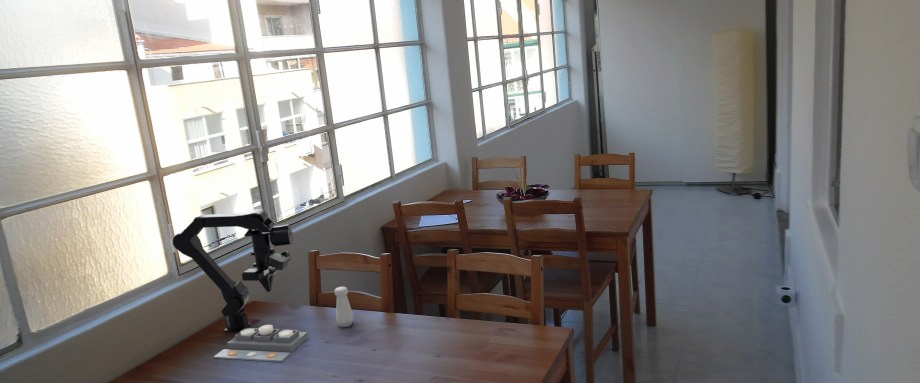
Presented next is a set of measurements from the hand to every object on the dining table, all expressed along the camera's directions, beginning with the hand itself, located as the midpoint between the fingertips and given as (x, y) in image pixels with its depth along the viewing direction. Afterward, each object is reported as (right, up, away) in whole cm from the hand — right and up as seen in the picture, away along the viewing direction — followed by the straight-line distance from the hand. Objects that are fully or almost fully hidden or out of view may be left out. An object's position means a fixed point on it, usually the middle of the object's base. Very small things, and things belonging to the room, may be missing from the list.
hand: (269, 291), depth 233 cm
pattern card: (+1, -17, -21) cm, 27 cm away
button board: (+3, -15, -12) cm, 19 cm away
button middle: (+3, -11, -13) cm, 17 cm away
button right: (+10, -13, -15) cm, 22 cm away
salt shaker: (+26, -11, -4) cm, 29 cm away
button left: (-4, -13, -11) cm, 17 cm away
